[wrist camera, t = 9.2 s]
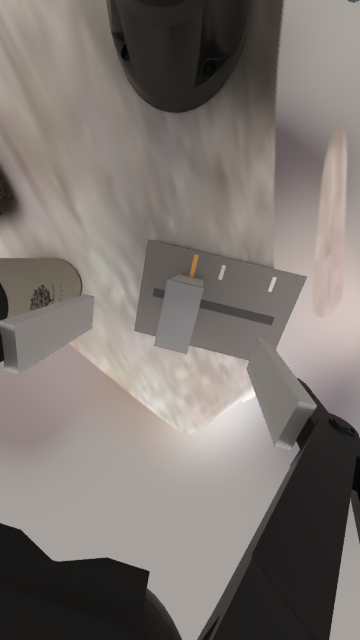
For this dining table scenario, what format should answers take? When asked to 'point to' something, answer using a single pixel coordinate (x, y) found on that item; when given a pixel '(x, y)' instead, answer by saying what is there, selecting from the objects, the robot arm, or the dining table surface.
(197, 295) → the fader
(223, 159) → the dining table surface
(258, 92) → the dining table surface
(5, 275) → the travel mug
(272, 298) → the console
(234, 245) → the dining table surface
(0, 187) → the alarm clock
